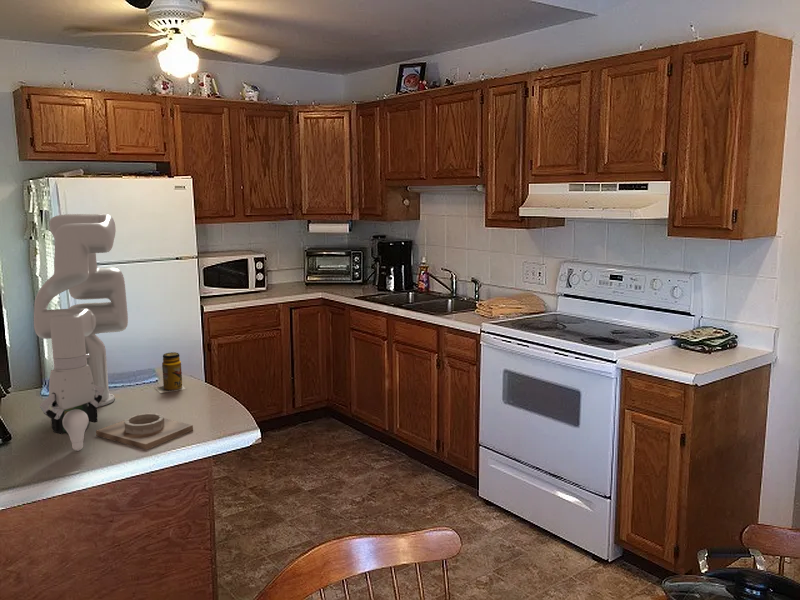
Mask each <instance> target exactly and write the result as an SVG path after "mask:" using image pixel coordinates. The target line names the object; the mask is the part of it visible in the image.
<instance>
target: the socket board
mask: <svg viewBox="0 0 800 600" xmlns="http://www.w3.org/2000/svg"><path fill="white" fill-rule="evenodd" d="M193 426H194V425H193V424H189V423H187V422H186V423H185V422H181V421H178V420H173V419H169V418H166V417H164V415H163V414H160V413H156V412H143V413H138V414H134V415H131V416H129V417H127V418H125V420H121V421H119V422H116V423H114V424H113V423H112V424H111V425H108V426H105V427H101V428H100V429H99V428H98V429H97V430H95V435H96V437H99V438H104V439H106V438H107V439H106V440H109V441H114V442H118V443H121V444H124V445H129V446H132V447H135V448H139V449H142V450H149V449H151V448H154V447H156V446H158V445H161V444H163V443H166V442H168V441H170V440H173V439H175V438H178V437H181V436H182V435H185V434H187V433H190V432H192V431H193V430H194V427H193Z"/></svg>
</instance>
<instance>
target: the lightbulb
mask: <svg viewBox="0 0 800 600" xmlns="http://www.w3.org/2000/svg"><path fill="white" fill-rule="evenodd" d="M62 423H63V427H64V429H65V430H66V431H67V432H66V433H67V434H68V437H69V439H70V442H71V445H72V446H71V447H72V450H75V451H76V452H80V451H81V450H82V449H83V448H84V439H85V433H86V432H85V431H86V430H87V429H88V428H87V425H88V423H89V424H90V421H89V418H88V415H87V414H86V413H85V412H84V411H82V410H79V409H74V410H71V411H69V412H67V413H66V414H65V416H64V417H63V421H62Z"/></svg>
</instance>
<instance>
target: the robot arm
mask: <svg viewBox="0 0 800 600" xmlns="http://www.w3.org/2000/svg"><path fill="white" fill-rule="evenodd" d="M115 222H116V221H115V220H114V218H113V217H112V216H111V215H110V214H107V213H91V214H90V213H69V214H68V213H66V214H60V215H59V214H58V215H55V216H53V217H51V219H49V229H50V232H51V235H52V236H53V238H54V254H53V255H54V258H53V259H54V263H53V264H54V265H53V266H54V267H53V270H54V271H53V275H52V276H50V277H49V278H48V279H47V280H46V281H45V282H44V283H43V284H42V286H41V287H40V288H39V290H38V291H37V294H36V297H35V299H34V305H33V306H34V307H33V329H34V332H35V334H36V336H37V337H39V338H40V339H43V340H46V339H47V340H51V347H52V348H51V349H52V359H53V369H51V370H50V374H49V383H48V397H47V398H45V400H43V401H42V402H41V403H40V404H39V408H40V409H41V411H42V412H43V414H44V415H46V416H47V417H48V418H49V419H50V421H51V429H52V432H53V433H54V434H57V435H63V434H64V432H63V423H62V419H61V418H60V416H61V414H62V413H63V411H64V410H66V409H70V408H73V407H76V406H80V405H83V404H86V403H87V404H88V406H87V415H88V418H89V423H90V422H91V423H94V424H96V423H98V408H100V407H103V406H107V405H110V404H111V403H113V402H114V401H115V399H116V396H115V395H114V394H113V393H110V389H109V376H108V375H109V373H108V363H107V349H106V345H105V344H104V342H103V341H102V340H101V338H100V337H98V336H97V334H107V333H110V334H111V333H118V332H119V333H120V332H124V331H125V330H126V329H127V327H128V323H129V317H128V316H129V314H128V305H127V304H128V302H127V292H126V284H125V276H124V274H123V272H122V271H121V270H120V269H119V268H116V267H98V264H97V254H105V253H110V251H112V248H113V246H114V242H115V238H116V232H117V231H116V223H115ZM65 291H68V292H69V295H70V297H71V298H73V299H75V300H79V301H80V300H82V301H83V300H103V299H104V300H105V299H107V300H109V302H108V301H106V302H103V301H102V302H86V303H85V302H84V303H77V304H73V305H71V306H69V307H68V308H58V309H57V308H55V309H48V307H49V304H50V302H51V301H52V300H53V299H54V298H55V297H56V296H58V295H60V294H62V293H63V292H65ZM50 407H51V408H52V409H50Z"/></svg>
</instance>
